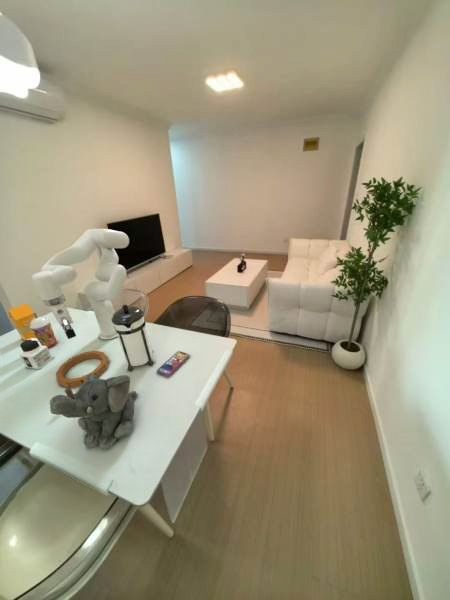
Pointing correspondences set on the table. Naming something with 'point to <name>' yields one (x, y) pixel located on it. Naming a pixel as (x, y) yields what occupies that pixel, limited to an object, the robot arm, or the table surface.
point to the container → (34, 354)
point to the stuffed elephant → (100, 409)
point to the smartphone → (173, 363)
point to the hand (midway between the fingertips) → (69, 333)
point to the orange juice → (23, 320)
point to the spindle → (70, 393)
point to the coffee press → (132, 336)
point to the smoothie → (43, 331)
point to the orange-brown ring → (77, 359)
